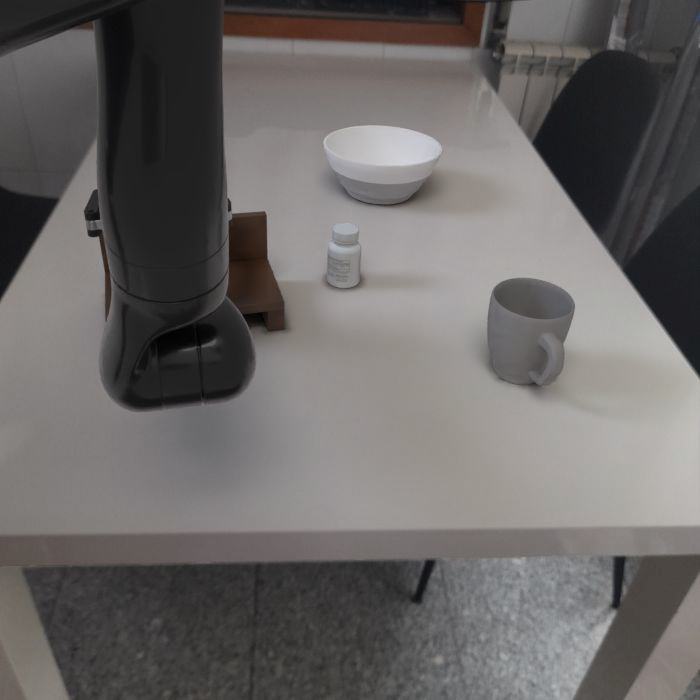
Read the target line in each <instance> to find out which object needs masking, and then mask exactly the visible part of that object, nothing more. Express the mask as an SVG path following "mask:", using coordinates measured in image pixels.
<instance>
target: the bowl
mask: <svg viewBox="0 0 700 700" xmlns="http://www.w3.org/2000/svg"><path fill="white" fill-rule="evenodd" d="M322 146H323V148H324V151H325V154H326V157H327V160H328V164H329V165H330V168H331V169H332V171H333V173H334V175H335V177H337V179H338V181H339V183H340V185H341V186H342V187H343V188H344V189H345V190H346V192H347V194H348V195H349V196H350V197H352V198H353V199H355V200H357V201H359V202H364V203H367V204H373V205H394V204H399V203H403V202H406V201H407V200H409V199H410V198H411V197H412V196H413V194H415V193H416V192H418V191H419V190H420V188H421V187H422V185H423V184H424V183H425V182H426V181H427V180H428V179H429V177H430V176H431V175H432V173H433V172H434V170H435V168H436V167H437V164H438V162H439V160H440V158H441V157H442V154H443V147H442V144H441V143H440V142H439V141H438V140H437V139H435V138H434V137H432V136H430V135H428V134H427V133H423V132H420V131H417V130H414V129H409V128H406V127H405V128H404V127H399V126H391V125H380V124H379V125H378V124H377V125H375V124H373V125H372V124H371V125H369V124H368V125H365V124H364V125H355V126H348V127H343V128H340V129H337V130H333V131H332V132H330V133H329V134H327V135H326V136H325V137H324V139H323V143H322Z"/></svg>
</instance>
